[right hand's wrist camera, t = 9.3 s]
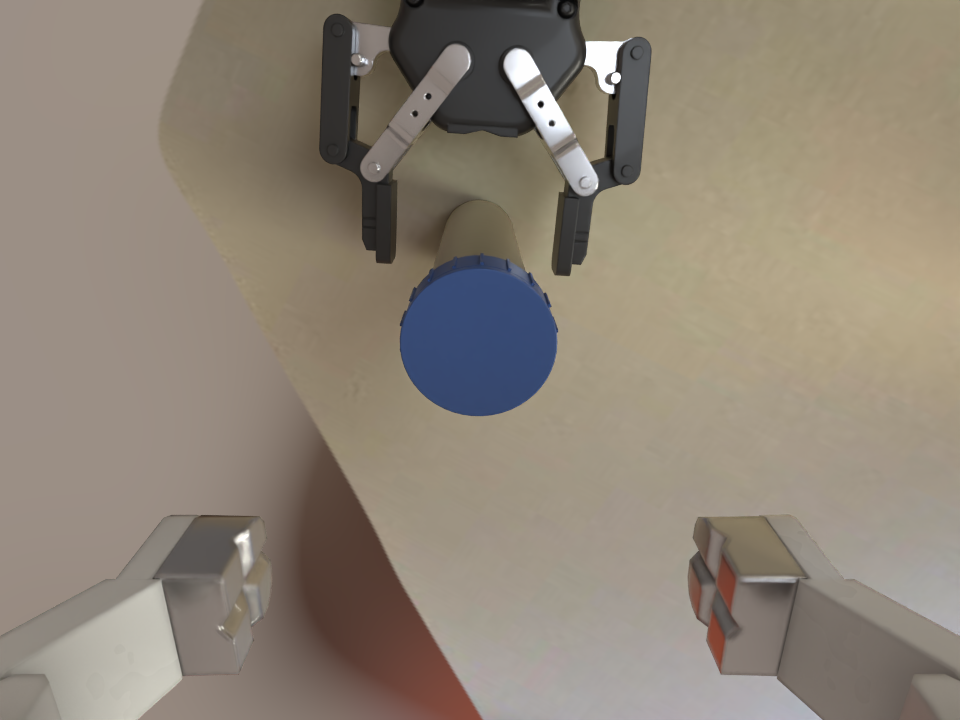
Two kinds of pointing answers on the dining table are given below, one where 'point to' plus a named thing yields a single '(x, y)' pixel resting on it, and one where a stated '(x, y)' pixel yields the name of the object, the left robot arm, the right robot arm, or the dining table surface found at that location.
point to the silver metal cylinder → (478, 234)
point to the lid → (478, 336)
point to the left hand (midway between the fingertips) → (473, 266)
